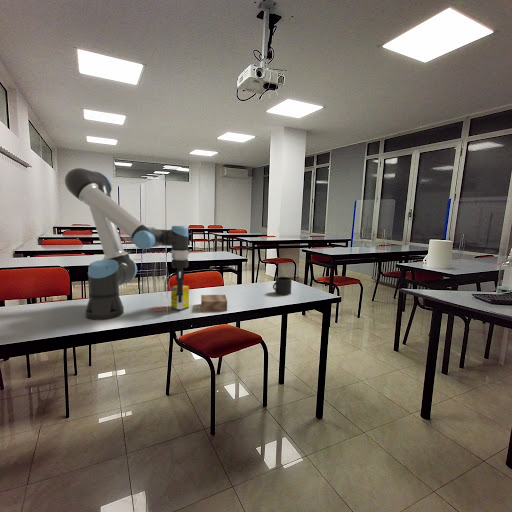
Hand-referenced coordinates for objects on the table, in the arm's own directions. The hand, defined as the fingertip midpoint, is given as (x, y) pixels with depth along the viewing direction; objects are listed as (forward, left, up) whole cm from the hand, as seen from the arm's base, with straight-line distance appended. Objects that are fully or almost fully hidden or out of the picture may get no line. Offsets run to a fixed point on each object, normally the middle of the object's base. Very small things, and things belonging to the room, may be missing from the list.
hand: (180, 305), depth 143 cm
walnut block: (+16, 0, -2) cm, 16 cm away
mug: (+58, +22, -2) cm, 62 cm away
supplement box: (0, 0, -2) cm, 2 cm away
